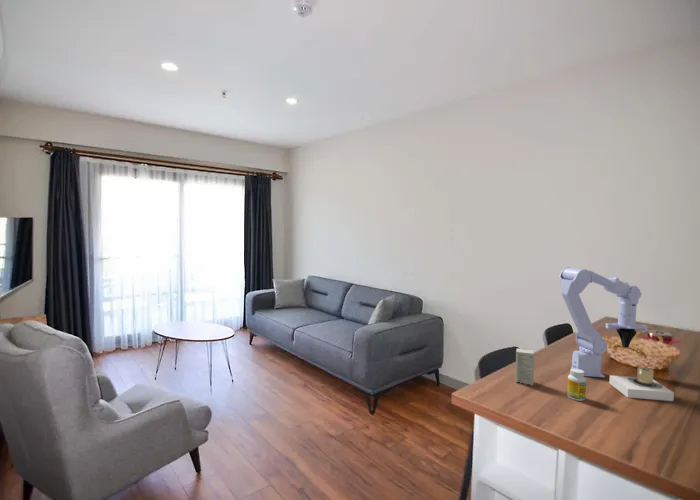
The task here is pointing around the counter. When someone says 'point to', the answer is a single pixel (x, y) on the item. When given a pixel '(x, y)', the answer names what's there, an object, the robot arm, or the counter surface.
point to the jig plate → (640, 389)
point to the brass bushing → (645, 376)
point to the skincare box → (525, 366)
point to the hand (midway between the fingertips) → (625, 346)
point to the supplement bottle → (576, 385)
